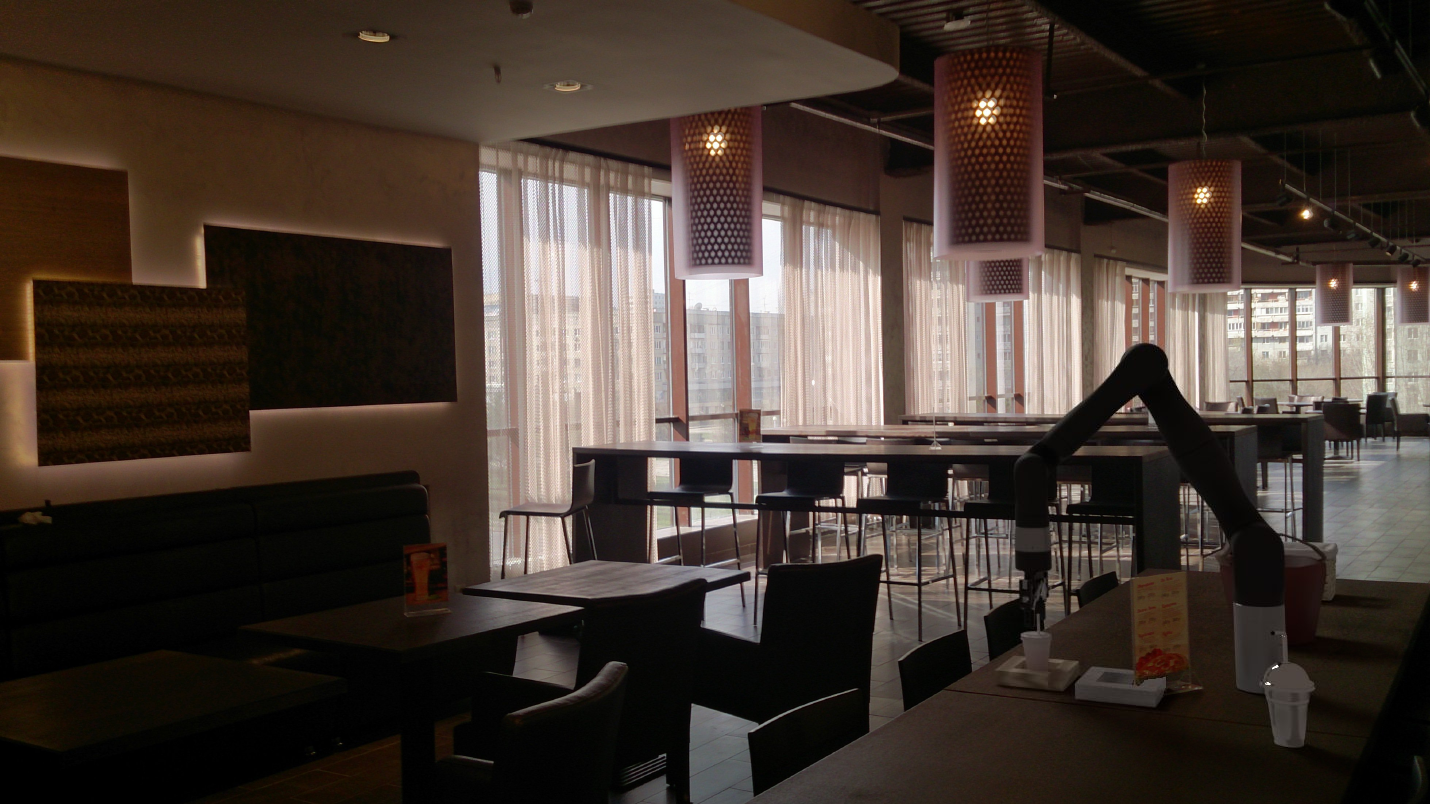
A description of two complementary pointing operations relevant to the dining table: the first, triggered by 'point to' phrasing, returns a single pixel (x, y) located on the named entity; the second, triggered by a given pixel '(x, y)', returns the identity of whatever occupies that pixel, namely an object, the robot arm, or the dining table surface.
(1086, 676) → the ring
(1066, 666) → the socket block
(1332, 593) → the storage basket
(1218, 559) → the bucket
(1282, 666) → the cup with straw
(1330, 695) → the dining table surface
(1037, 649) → the smoothie
